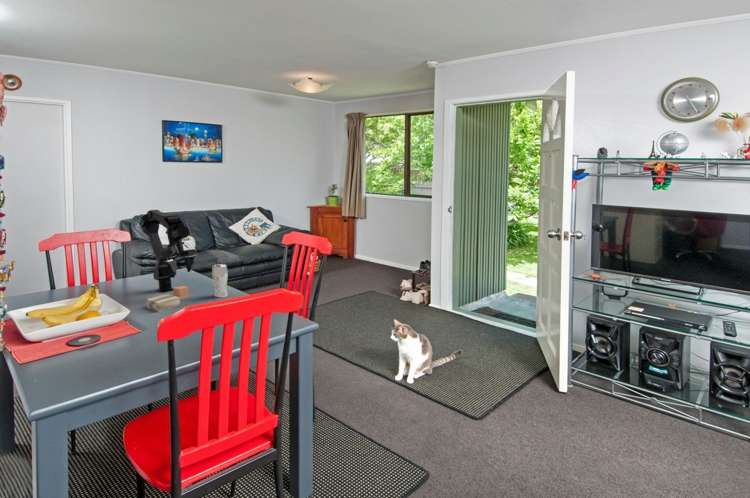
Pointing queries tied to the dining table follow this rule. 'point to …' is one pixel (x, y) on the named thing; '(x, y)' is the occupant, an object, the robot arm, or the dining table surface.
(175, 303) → the birch block
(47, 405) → the dining table surface
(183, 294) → the terracotta cube
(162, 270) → the robot arm
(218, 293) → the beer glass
